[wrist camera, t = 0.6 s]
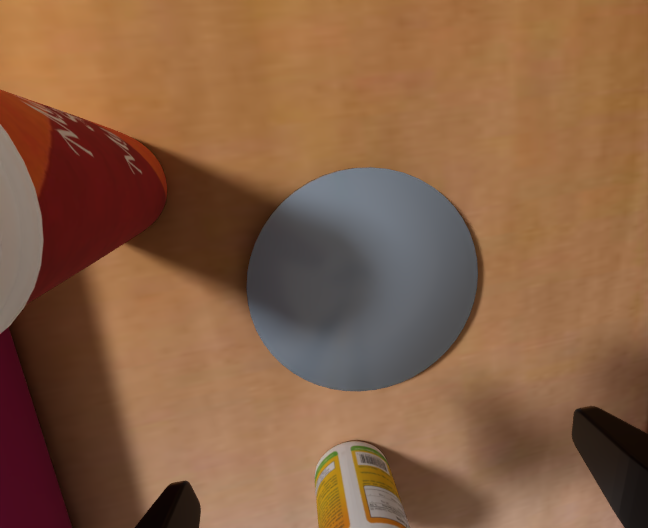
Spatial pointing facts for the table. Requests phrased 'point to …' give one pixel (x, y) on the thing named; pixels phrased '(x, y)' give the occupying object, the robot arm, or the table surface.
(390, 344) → the slate dish
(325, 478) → the supplement bottle
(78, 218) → the paper cup
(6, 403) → the book
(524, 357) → the table surface
